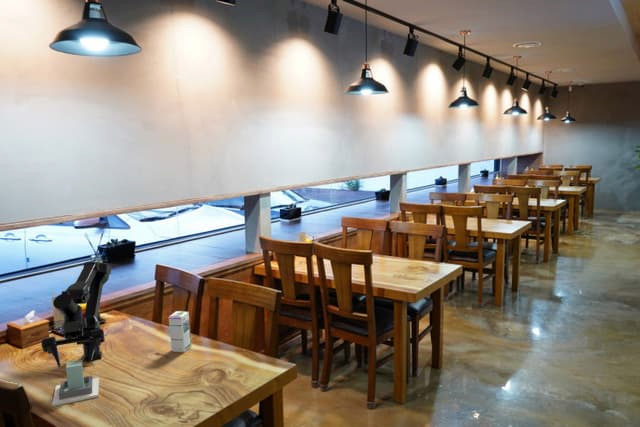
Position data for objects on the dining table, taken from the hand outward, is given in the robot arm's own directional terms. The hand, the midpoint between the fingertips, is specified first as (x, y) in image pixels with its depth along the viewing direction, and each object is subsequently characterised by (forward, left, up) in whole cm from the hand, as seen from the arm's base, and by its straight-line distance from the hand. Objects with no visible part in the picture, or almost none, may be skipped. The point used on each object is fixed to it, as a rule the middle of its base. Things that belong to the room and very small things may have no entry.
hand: (74, 364), depth 163 cm
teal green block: (+2, 0, -8) cm, 8 cm away
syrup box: (-18, +36, -9) cm, 41 cm away
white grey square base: (+2, 0, -9) cm, 9 cm away
